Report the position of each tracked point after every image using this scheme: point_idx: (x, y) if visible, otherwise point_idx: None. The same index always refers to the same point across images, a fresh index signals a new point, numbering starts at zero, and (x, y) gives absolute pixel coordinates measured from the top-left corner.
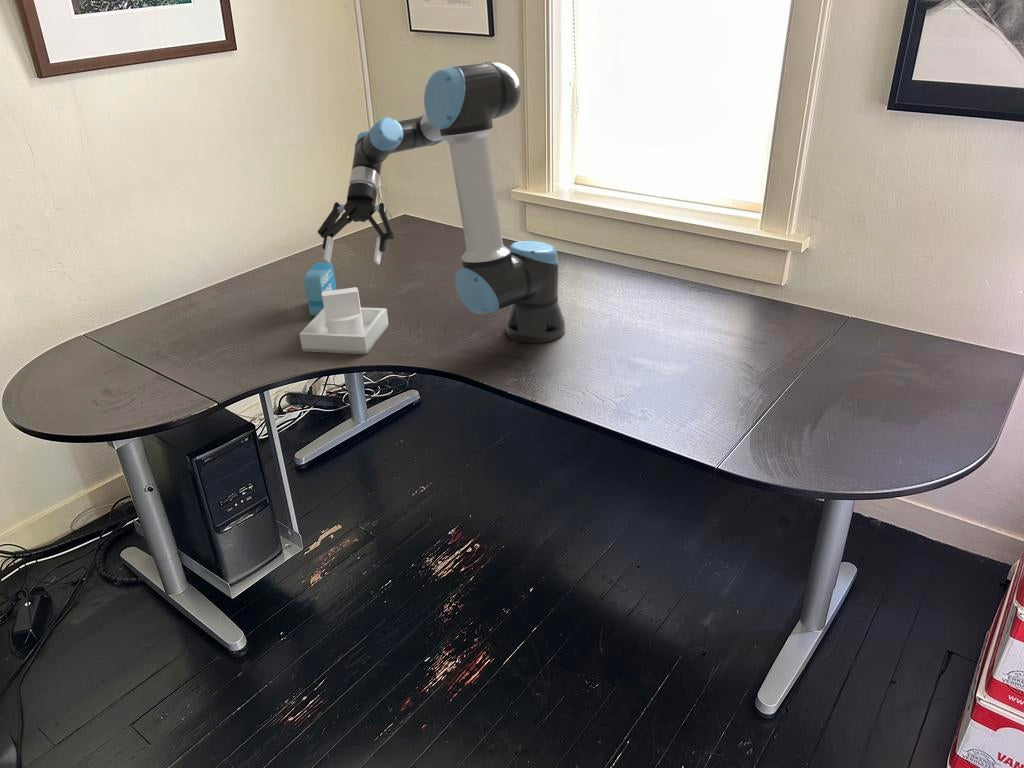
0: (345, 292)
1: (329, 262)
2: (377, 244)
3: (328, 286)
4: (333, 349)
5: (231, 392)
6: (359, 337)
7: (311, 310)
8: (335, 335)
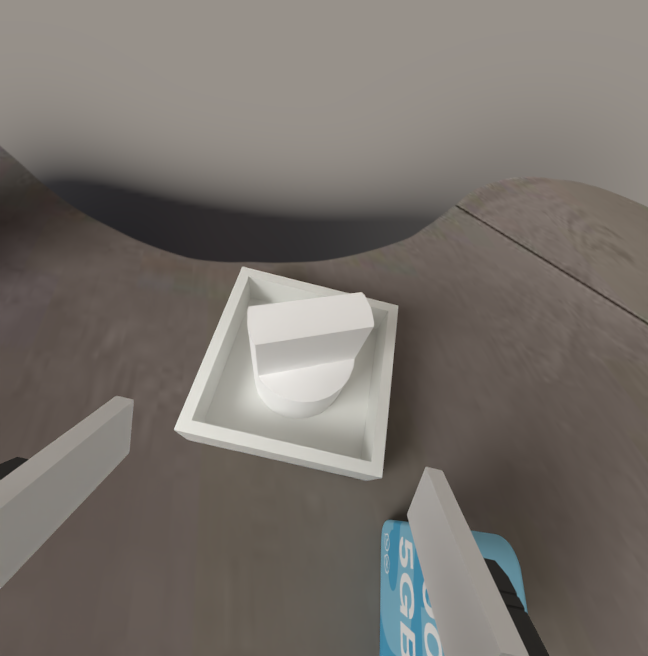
0: (290, 305)
1: (410, 508)
2: (27, 473)
3: (412, 626)
4: None
5: (448, 221)
6: (254, 270)
7: None
8: (312, 284)
